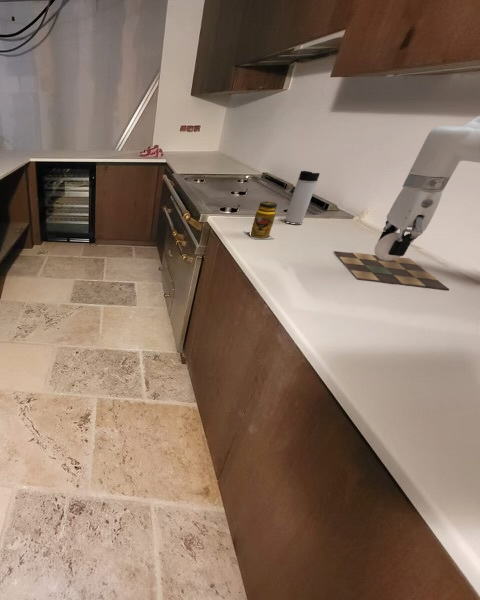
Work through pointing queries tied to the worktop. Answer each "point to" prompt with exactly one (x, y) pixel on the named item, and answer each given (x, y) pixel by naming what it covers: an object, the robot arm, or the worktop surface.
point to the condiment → (263, 221)
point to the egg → (386, 247)
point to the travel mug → (301, 197)
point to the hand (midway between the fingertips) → (389, 249)
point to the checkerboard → (388, 270)
